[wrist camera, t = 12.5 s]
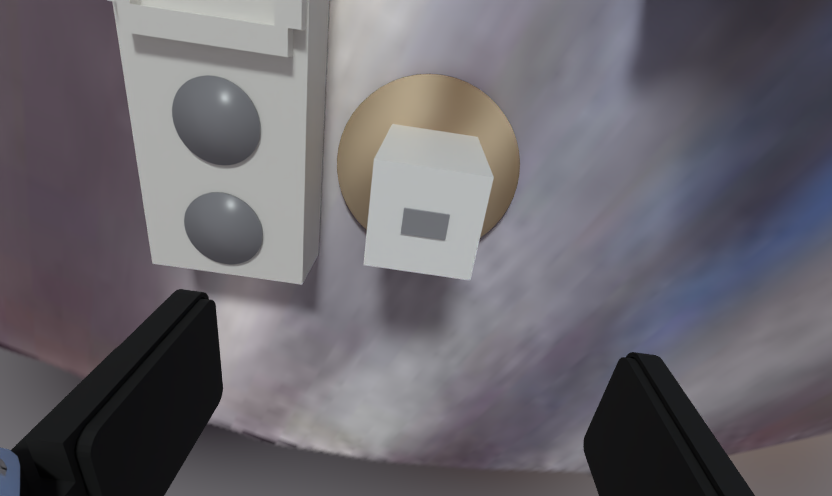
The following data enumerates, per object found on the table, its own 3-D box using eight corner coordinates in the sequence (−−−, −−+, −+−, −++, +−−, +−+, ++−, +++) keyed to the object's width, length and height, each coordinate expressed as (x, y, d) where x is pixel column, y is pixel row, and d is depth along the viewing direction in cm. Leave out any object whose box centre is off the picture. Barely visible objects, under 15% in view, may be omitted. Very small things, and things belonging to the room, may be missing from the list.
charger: (477, 136, 25) (494, 177, 18) (461, 215, 27) (470, 281, 20) (392, 123, 25) (373, 159, 18) (383, 204, 27) (363, 266, 20)
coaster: (538, 89, 24) (541, 90, 24) (496, 260, 29) (497, 264, 29) (344, 59, 24) (342, 60, 24) (334, 236, 29) (332, 240, 28)
